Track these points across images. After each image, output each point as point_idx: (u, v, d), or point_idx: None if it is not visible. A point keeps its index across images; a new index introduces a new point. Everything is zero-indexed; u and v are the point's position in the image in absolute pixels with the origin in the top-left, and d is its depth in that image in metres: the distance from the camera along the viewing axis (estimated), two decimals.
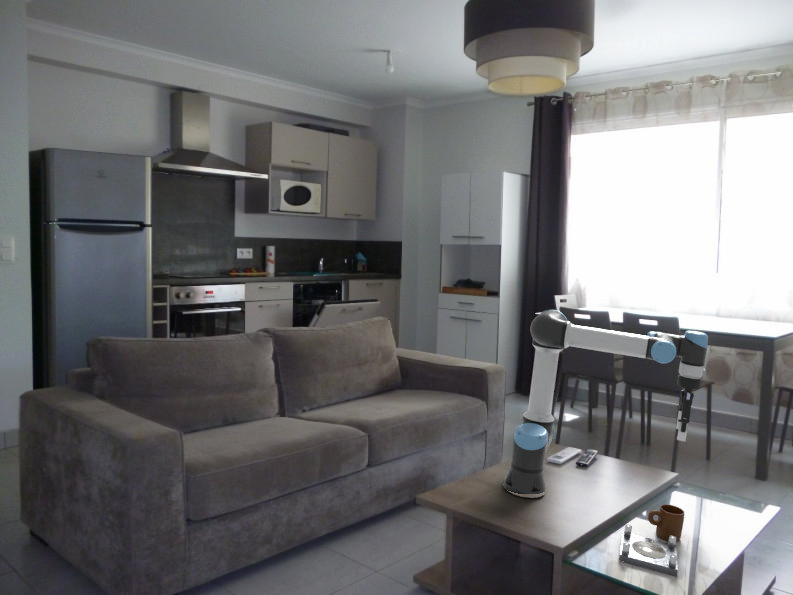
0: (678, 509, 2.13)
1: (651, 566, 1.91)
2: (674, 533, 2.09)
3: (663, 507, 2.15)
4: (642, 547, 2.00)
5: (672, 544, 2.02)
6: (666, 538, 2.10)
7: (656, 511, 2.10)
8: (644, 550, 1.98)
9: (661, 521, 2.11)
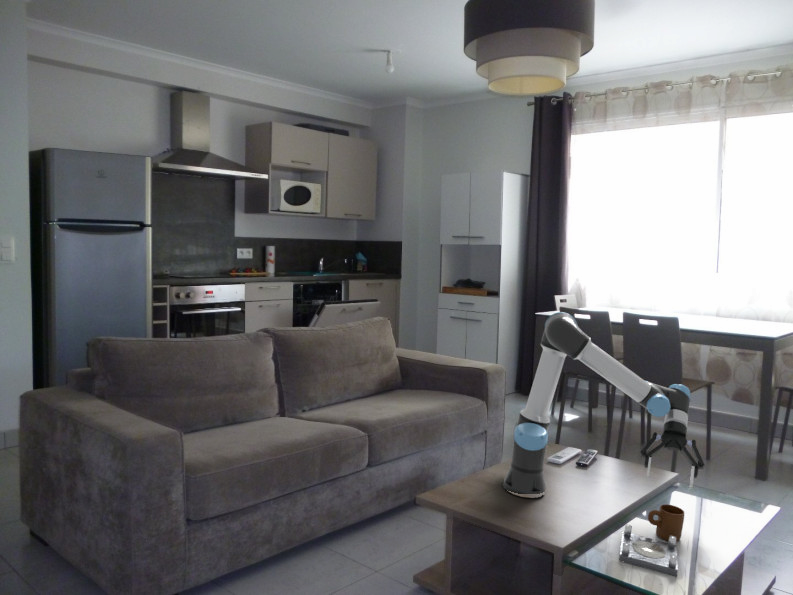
0: (678, 509, 2.13)
1: (651, 566, 1.91)
2: (674, 533, 2.09)
3: (663, 507, 2.15)
4: (642, 547, 2.00)
5: (672, 544, 2.02)
6: (666, 538, 2.10)
7: (656, 511, 2.10)
8: (644, 550, 1.98)
9: (661, 521, 2.11)
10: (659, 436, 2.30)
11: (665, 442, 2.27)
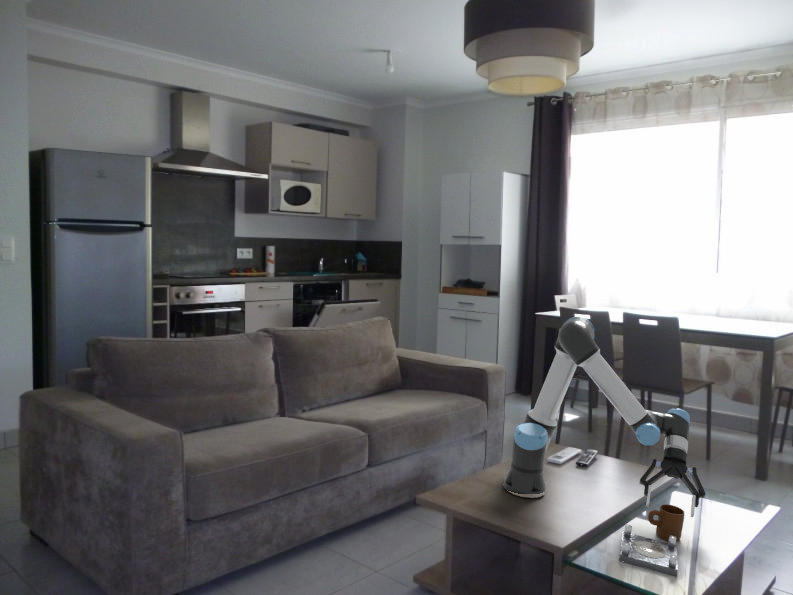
0: (678, 509, 2.13)
1: (651, 566, 1.91)
2: (674, 533, 2.09)
3: (663, 507, 2.15)
4: (642, 547, 2.00)
5: (672, 544, 2.02)
6: (666, 538, 2.10)
7: (656, 511, 2.10)
8: (644, 550, 1.98)
9: (661, 521, 2.11)
10: (659, 463, 2.24)
11: (665, 469, 2.20)
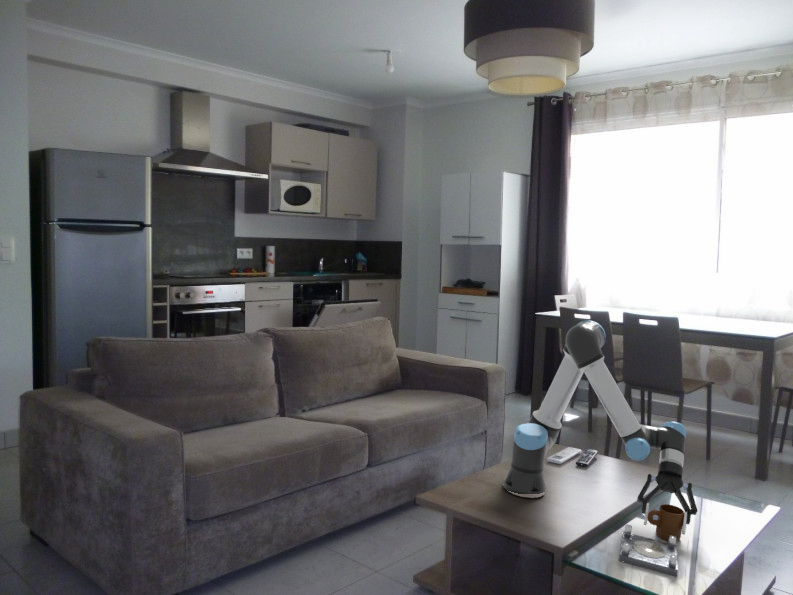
0: (678, 509, 2.13)
1: (651, 566, 1.91)
2: (674, 533, 2.09)
3: (663, 507, 2.15)
4: (642, 547, 2.00)
5: (672, 544, 2.02)
6: (666, 538, 2.10)
7: (656, 511, 2.10)
8: (644, 550, 1.98)
9: (661, 521, 2.11)
10: (654, 477, 2.19)
11: (661, 484, 2.16)
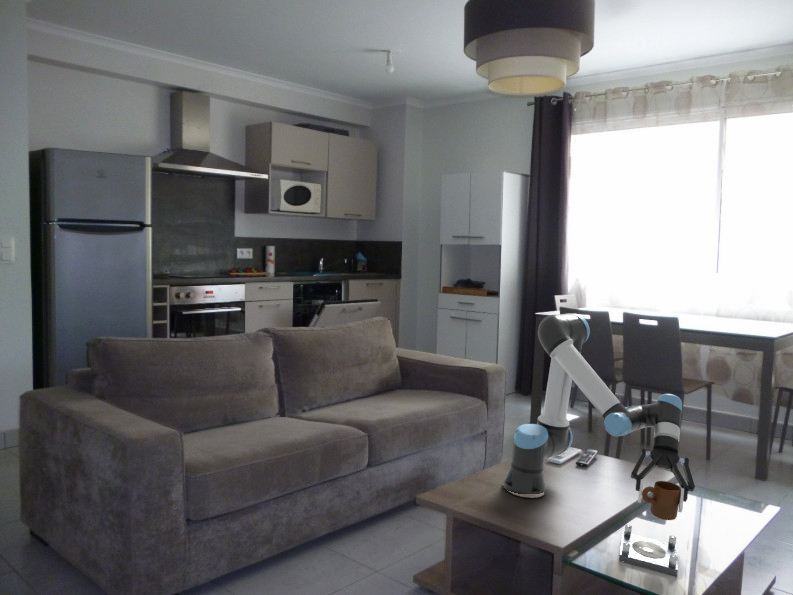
0: (674, 486, 2.00)
1: (651, 566, 1.91)
2: (670, 511, 1.95)
3: (658, 484, 2.01)
4: (642, 547, 2.00)
5: (672, 544, 2.02)
6: (661, 516, 1.96)
7: (651, 488, 1.96)
8: (644, 550, 1.98)
9: (656, 498, 1.97)
10: (648, 453, 2.06)
11: (656, 460, 2.02)
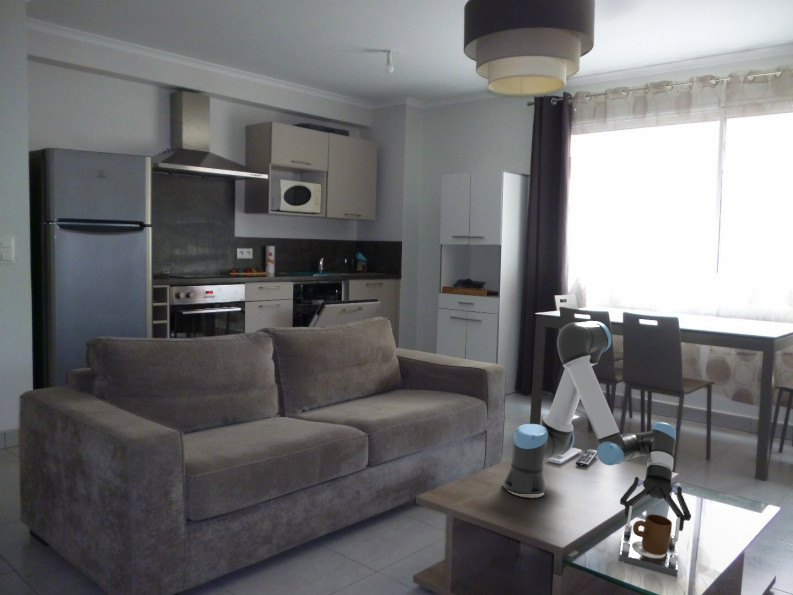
0: (665, 519, 2.00)
1: (651, 566, 1.91)
2: (661, 545, 1.95)
3: (649, 517, 2.01)
4: (642, 547, 2.00)
5: (672, 544, 2.02)
6: (652, 550, 1.96)
7: (642, 522, 1.97)
8: (644, 550, 1.98)
9: (647, 532, 1.97)
10: (641, 481, 2.06)
11: (648, 489, 2.03)
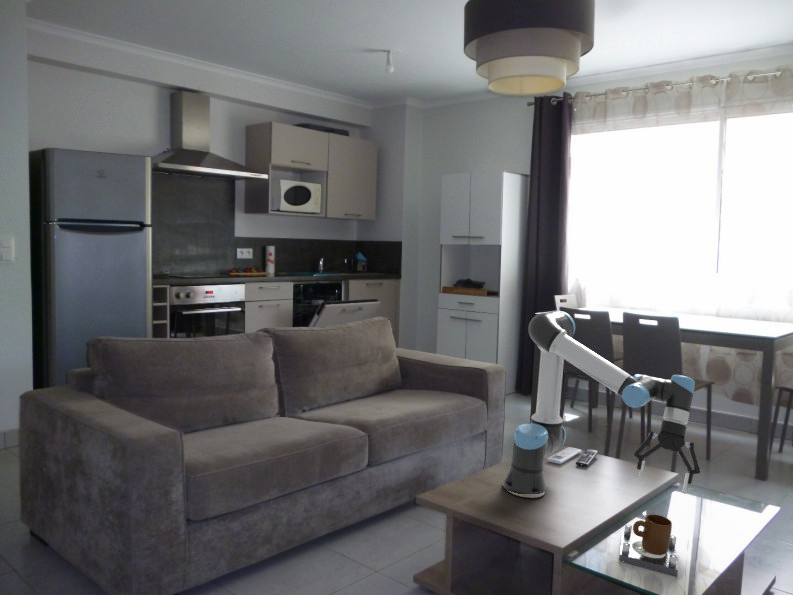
0: (665, 519, 2.00)
1: (651, 566, 1.91)
2: (661, 545, 1.95)
3: (649, 517, 2.01)
4: (642, 547, 2.00)
5: (672, 544, 2.02)
6: (652, 550, 1.96)
7: (641, 522, 1.97)
8: (644, 550, 1.98)
9: (647, 532, 1.97)
10: (656, 435, 2.15)
11: (661, 444, 2.13)
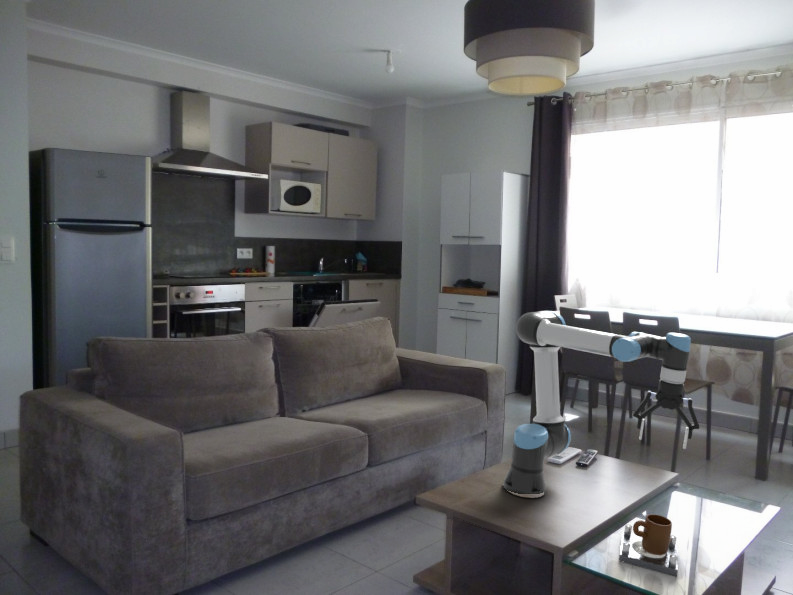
0: (665, 519, 2.00)
1: (651, 566, 1.91)
2: (661, 545, 1.95)
3: (649, 517, 2.01)
4: (642, 547, 2.00)
5: (672, 544, 2.02)
6: (652, 550, 1.96)
7: (641, 522, 1.97)
8: (644, 550, 1.98)
9: (647, 532, 1.97)
10: (653, 395, 2.15)
11: (659, 404, 2.14)
